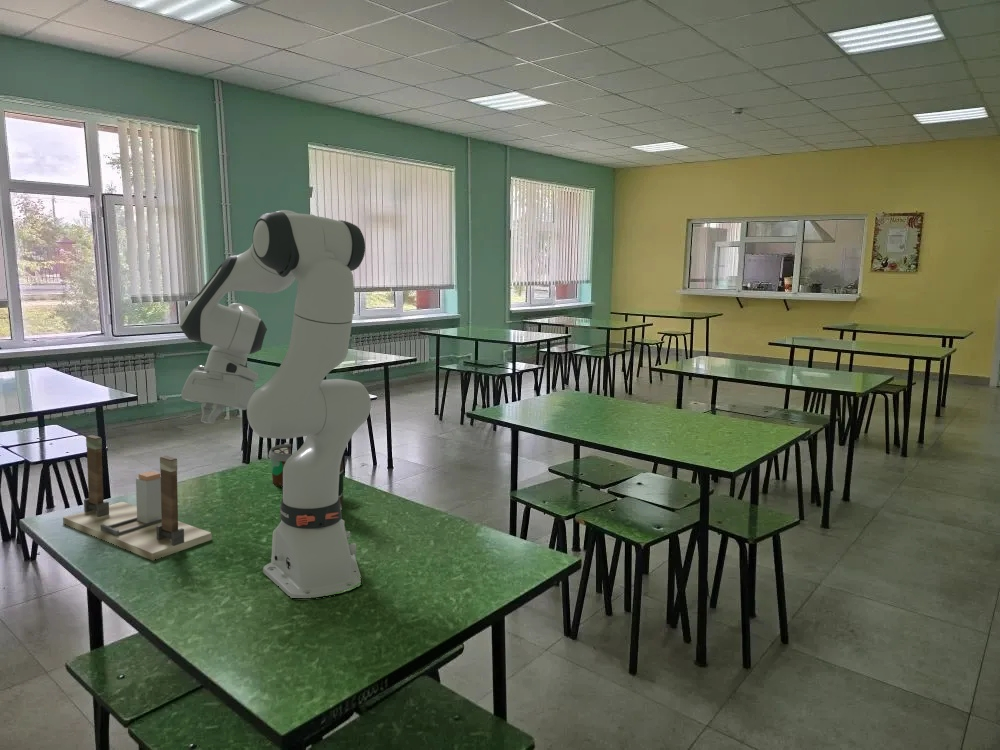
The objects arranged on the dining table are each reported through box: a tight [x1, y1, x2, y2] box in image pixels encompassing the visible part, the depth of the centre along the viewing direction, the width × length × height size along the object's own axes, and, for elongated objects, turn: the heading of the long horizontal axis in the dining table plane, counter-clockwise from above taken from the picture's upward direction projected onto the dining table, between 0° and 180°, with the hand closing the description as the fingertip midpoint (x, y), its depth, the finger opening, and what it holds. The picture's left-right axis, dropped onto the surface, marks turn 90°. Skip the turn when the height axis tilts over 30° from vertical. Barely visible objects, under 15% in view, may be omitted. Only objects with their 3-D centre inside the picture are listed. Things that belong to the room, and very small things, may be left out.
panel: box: [62, 497, 213, 562], centre depth 152 cm, size 34×14×5 cm, turn 60°
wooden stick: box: [85, 434, 104, 511], centre depth 157 cm, size 2×4×18 cm, turn 60°
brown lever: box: [159, 455, 179, 539], centre depth 143 cm, size 2×4×18 cm, turn 60°
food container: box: [267, 443, 292, 487], centre depth 191 cm, size 12×6×10 cm, turn 17°
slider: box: [135, 470, 162, 524], centre depth 154 cm, size 4×4×11 cm
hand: (207, 422), depth 161 cm, fingers closed
